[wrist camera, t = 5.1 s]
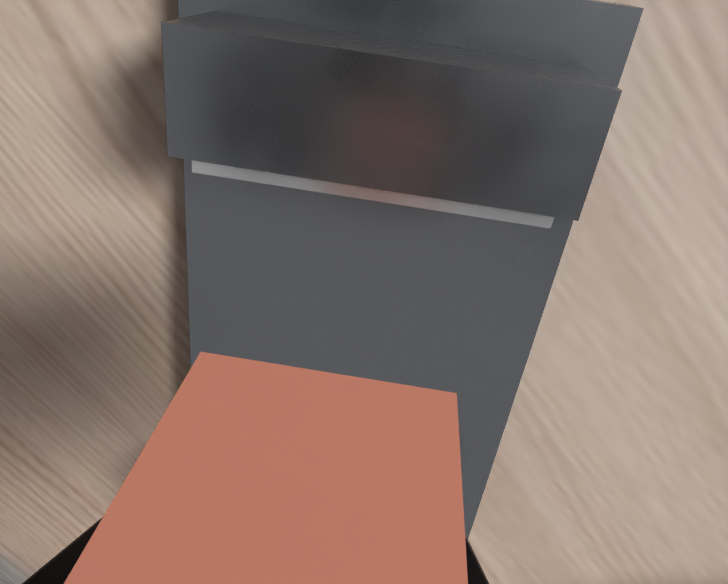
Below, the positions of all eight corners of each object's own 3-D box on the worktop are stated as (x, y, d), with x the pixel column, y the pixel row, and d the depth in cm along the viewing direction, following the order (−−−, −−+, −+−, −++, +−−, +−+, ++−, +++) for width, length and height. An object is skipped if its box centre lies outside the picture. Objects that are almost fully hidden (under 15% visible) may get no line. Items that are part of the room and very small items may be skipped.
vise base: (460, 534, 27) (465, 637, 22) (204, 490, 27) (163, 583, 23) (629, 5, 16) (698, 19, 11) (193, -58, 16) (109, -66, 12)
